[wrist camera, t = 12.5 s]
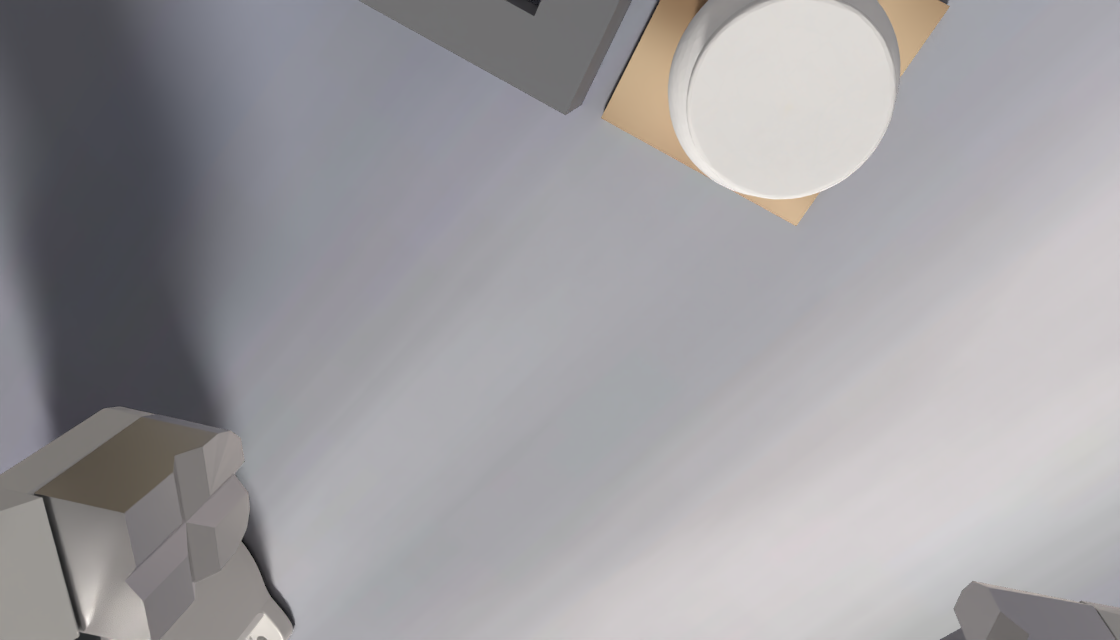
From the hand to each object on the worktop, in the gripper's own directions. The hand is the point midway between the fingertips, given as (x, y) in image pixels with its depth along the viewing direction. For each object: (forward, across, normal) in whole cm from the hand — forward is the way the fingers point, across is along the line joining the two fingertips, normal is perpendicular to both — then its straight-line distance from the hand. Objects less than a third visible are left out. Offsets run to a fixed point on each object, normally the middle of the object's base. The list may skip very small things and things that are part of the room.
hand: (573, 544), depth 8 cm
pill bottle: (+23, -3, -4) cm, 23 cm away
